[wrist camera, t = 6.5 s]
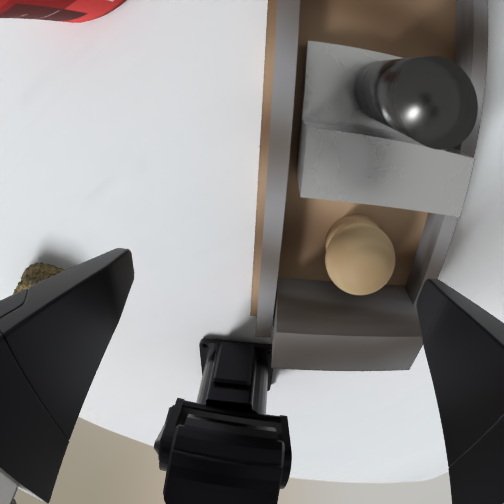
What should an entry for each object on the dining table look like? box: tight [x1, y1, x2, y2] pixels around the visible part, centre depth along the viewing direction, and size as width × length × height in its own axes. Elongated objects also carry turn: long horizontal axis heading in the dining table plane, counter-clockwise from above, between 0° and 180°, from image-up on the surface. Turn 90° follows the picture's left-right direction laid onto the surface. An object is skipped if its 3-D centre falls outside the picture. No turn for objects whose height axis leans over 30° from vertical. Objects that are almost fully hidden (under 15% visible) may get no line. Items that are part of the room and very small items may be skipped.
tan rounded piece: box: [325, 215, 395, 295], centre depth 17 cm, size 4×4×4 cm
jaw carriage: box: [296, 41, 478, 217], centre depth 12 cm, size 7×8×7 cm
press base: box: [250, 0, 488, 371], centre depth 15 cm, size 24×12×7 cm, turn 178°
